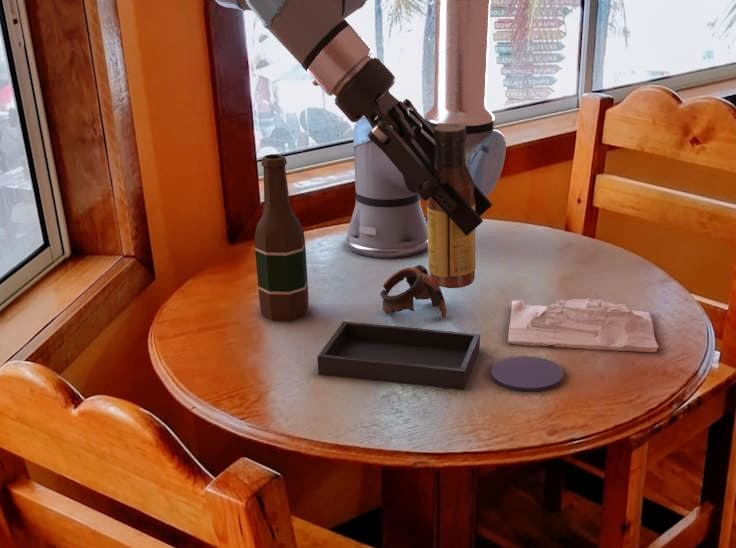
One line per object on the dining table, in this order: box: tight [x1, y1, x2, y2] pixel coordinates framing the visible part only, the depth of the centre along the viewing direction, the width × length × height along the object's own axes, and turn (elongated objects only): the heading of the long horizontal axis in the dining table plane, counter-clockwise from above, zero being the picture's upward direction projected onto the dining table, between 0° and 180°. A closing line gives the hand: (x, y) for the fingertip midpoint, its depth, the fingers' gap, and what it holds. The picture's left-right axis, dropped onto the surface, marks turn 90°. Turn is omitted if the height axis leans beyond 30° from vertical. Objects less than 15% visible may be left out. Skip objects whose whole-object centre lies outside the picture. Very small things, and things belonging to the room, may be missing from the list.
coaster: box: [490, 355, 564, 393], centre depth 136 cm, size 10×10×1 cm
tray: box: [316, 320, 481, 391], centre depth 139 cm, size 13×21×3 cm, turn 77°
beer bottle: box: [254, 153, 309, 322], centre depth 148 cm, size 8×8×24 cm
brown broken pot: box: [379, 264, 448, 319], centre depth 154 cm, size 12×10×8 cm
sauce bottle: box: [426, 124, 476, 289], centre depth 125 cm, size 7×6×20 cm
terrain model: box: [507, 297, 661, 353], centre depth 148 cm, size 17×23×5 cm
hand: (479, 219), depth 125 cm, fingers closed on sauce bottle, 6 cm apart
